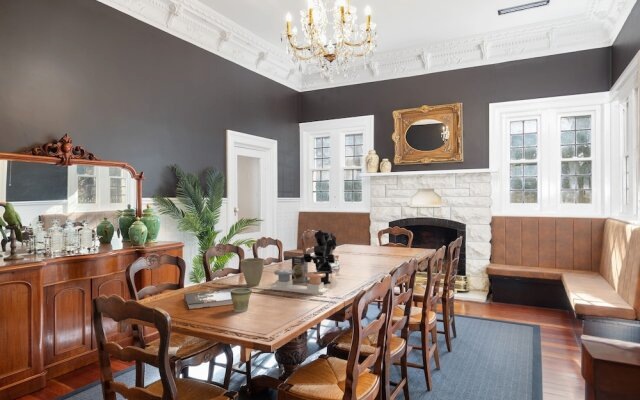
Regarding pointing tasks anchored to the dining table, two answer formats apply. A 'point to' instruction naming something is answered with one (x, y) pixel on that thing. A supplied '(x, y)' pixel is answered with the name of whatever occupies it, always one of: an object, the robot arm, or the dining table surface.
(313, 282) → the brown round domed piece
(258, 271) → the plant pot
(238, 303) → the ceramic cup
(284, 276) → the two dot key
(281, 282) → the key console
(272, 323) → the dining table surface
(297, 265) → the coffee box
